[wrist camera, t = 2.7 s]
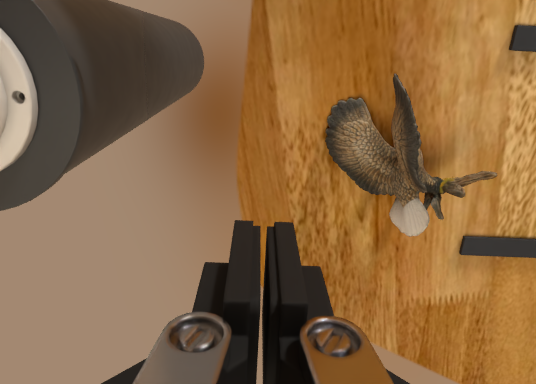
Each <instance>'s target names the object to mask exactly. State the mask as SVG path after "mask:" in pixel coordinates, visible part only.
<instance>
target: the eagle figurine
mask: <svg viewBox="0 0 536 384" xmlns="http://www.w3.org/2000/svg"><path fill="white" fill-rule="evenodd" d="M393 83H394V88H395V95H396V107H395V110H394V115H393V119H392V127H391V129H392V136H393V142H394V147H395V148H393V147H392V146H390V145H389V144H388V143H387V142H386V141H385V140H384V139H383V137H382V136H381V134H380V133H379V131H378V130H377V129H376V127H375V126H374V124H373V122H372V119H371V116H370V113H369V111H368V109H367V106H366V104H365V102H364V101H363V99H362V98H358V99H357V100H354V99H352V98H349V99H348V100H347V102H345V101H343V100H340V101H338V104H337V105H335V106H333V107H332V109H331V112H332V115H331V116H328V119H327V122H328V125H329V127H330V128H329V129H326V134H327V136H328V137H326V140H325V142H326V144H327V148H328V149H329V154H330V155H331V156H332V157H333V161H334V162H336V163H337V164H338V165H339V167H340V168H341V169H342V170H343V171H345V172H347V175H348V176H350V178H351V179H352V180H354V181H355V183H356V184H357V185H358V186H359V187H360V188H362V189H363V190H365V191H368V192H369V193H371V194H375V195H379V194H382V195H386V194H389V195H390V196H392V195H395V196H396V199H395V202H394V204H393V206H392V208H391V210H390V213H389V215H390V218H391V221H392V222H393V223H394V224H395V225H396V226H397V227H398V228H399V230H400V231H401V232H402V233H405V234H406V235H408V236H409V237H410V236H417V235H419V234H420V233H422V232H423V231H424V230H425V229H426V228H427V226H428V223H429V215H428V212H427V209H428V206H429V205H430V203H431V206H432V207H433V209H434V210H435V213H436V215H437V217H438V218H439V219H444V217H443V214H442V212H441V206H440V201H441V195H440V194H444V193H445V192H447V193H449V194H452V195H454V196H457V197H460V198H462V197H464V196H465V190H464V189H463V188H462V187H463V186H466V185H468V184H471V183H473V182H476V181H479V180H488V179H492V178H494V177H496V176H497V173H495V172H488V171H481V172H479V173H476V174H471V175H466V176H464V177H462V178H457V177H452V178H444V179H441V178H438V177H431V176H430V175H429V174H428V173H427V172H426V171H425V169H424V166H423V162H424V161H423V155H422V151H421V150H420V146H421V140H420V133H419V132H418V131H417V128H418V126H417V125H416V120H415V116H414V113H413V108H412V106H411V101H410V98H409V97H408V94H407V92H406V89H405V88H404V87H403V85H402V83H401V81H400V80H399V78H398V75H397V74H394V77H393ZM419 192H422V193H424V192H425V198H424V204H422V202H421V201H420V200H419Z"/></svg>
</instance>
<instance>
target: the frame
mask: <svg viewBox="0 0 536 384" xmlns="http://www.w3.org/2000/svg"><path fill="white" fill-rule="evenodd" d="M509 50H515V51H532V52H536V26H523V25H516V26H515V28H514V32H513V36H512V40H511V44H510V48H509ZM459 253H460V254H461V255H476V256H503V257H529V258H536V239H522V238H497V237H472V236H463V240H462V244H461V248H460V252H459Z"/></svg>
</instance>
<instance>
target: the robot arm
mask: <svg viewBox="0 0 536 384" xmlns="http://www.w3.org/2000/svg"><path fill="white" fill-rule="evenodd" d="M23 94H24V96H25V99H24V98H23ZM37 117H38V101H37V91H36V88H35V84H34V81H33V77H32V74H31V72H30V70H29V68H28V66H27V63H26V61H25V59H24V57H23V56H22V54H21V53H20V51H19V50H18V48H17V47H16V45H15V44H14V42H13V41H12V40H11V39H10V37H9V36H8V35H7V34H6V33H5V32H4V31H3V30H2V29H1V28H0V171H2V170H3V169H5V168H7V167H8V166H10V165H11V164H13V163H14V162H15V161H16V160H17V159H18V158H19V157H20V156H21V155H22V154H23V153H24V152H25V150H26V149H27V147H28V145H29V144H30V142H31V141H32V138H33V135H34V132H35V129H36V126H37ZM262 309H263V310H262V312H263V313H262V329H263V330H262V331H263V332H262V333H263V334H262V336H263V384H409V383H408V382H406V381H405V380H403V379H401V378H400V377H398V376H396V375H395V374H393V373H392V372H390V371H388V370H387V369H385V367H384V366H383V364H382V362H381V360H380V359H379V357H378V355H377V353H376V352H375V350H374V348H373V347H372V345H371V343H370V341H369V340H368V338H367V336H366V335H365V333H364V332H363V331H362V330H361V328H359V327H358V326H357V325H355V324H354V323H352V322H350V321H348V320H346V319H343V318H339V317H335V316H334V314H333V310H332V307H331V303H330V300H329V296H328V292H327V289H326V285H325V281H324V278H323V274H322V271H321V268H320V267H319V266H301V262H300V256H299V251H298V246H297V240H296V235H295V230H294V225H293V223H290V222H275V223H274V227H269V226H267V238H266V255H265V272H264V290H263V308H262ZM259 320H260V226H253V221H240V220H235V224H234V230H233V237H232V244H231V251H230V258H229V263H214V262H213V263H212V262H205V264H204V267H203V271H202V275H201V279H200V283H199V287H198V291H197V295H196V299H195V303H194V307H193V311H192V313H186V314H184V315H181V316H178V317H176V318H175V319H173V320H172V321H170V322H169V323H168V324H167V326H166V327H165V328H164V329H163V331H162V333H161V334H160V336H159V338H158V340H157V342H156V343H155V345H154V347H153V349H152V350H151V352H150V354H149V356H148V358H147V359H145V360H143V361H141V362H139V363H138V364H136V365H134V366H132V367H131V368H129V369H127V370H125V371H123V372H121V373H120V374H118V375H116V376H114V377H112V378H111V379H109V380H107V381H105V382H103V383H101V384H256V373H257V357H258V339H259Z"/></svg>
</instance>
